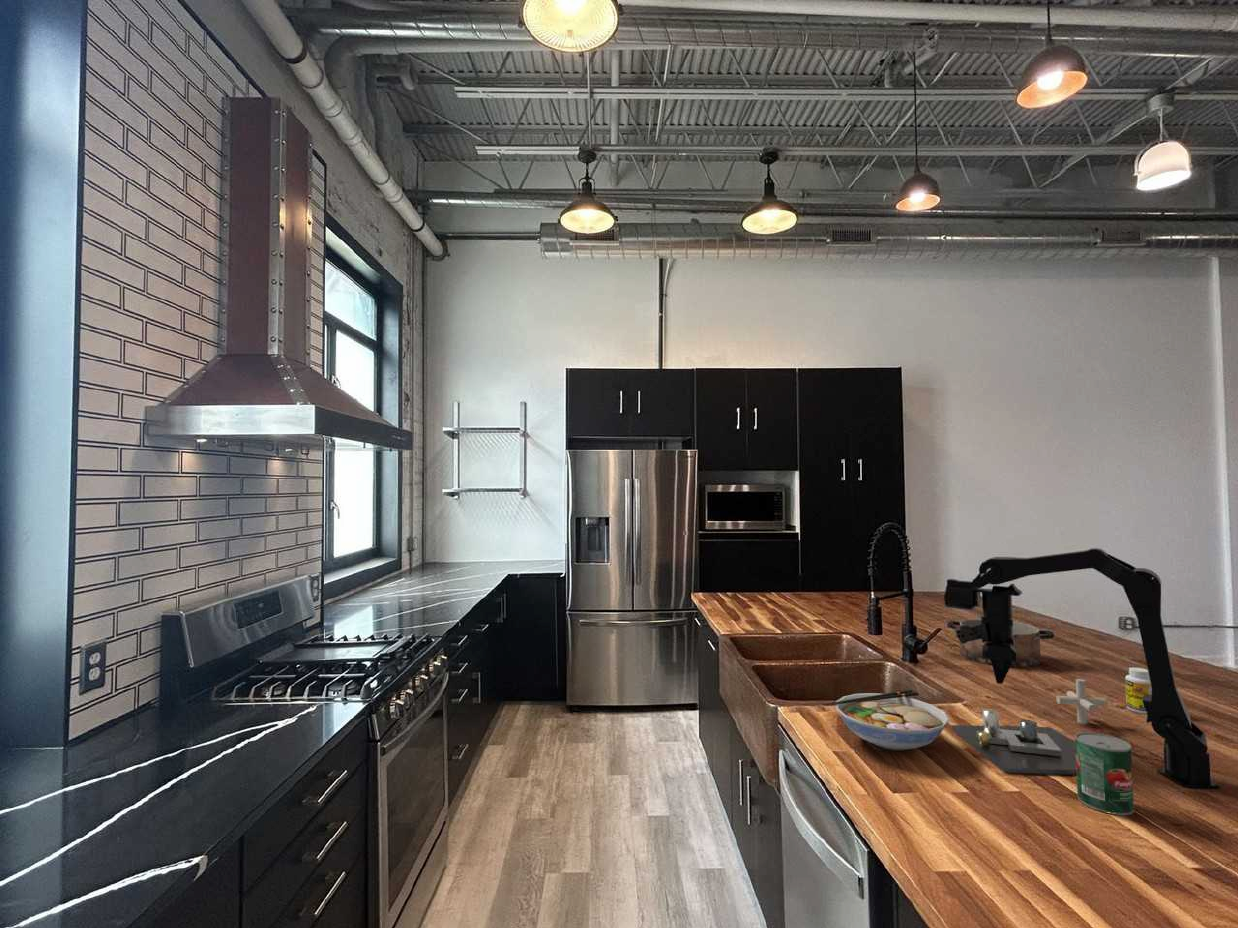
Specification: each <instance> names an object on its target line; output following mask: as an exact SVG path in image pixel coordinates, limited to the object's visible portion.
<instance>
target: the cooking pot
mask: <svg viewBox="0 0 1238 928" xmlns="http://www.w3.org/2000/svg"><path fill="white" fill-rule="evenodd" d="M976 622H981V618H971V619H965V620H961V621H960V622H959V621H955V620H949V621H948V622H947V624H946V627H947V628H948V629H949V628H950V629H953V630H955V627H958V626H961V625H966V624H971V623H976ZM1054 638H1055V633H1054V632H1053V631H1051V630H1040V629H1039V628H1038V627H1035V626H1034V625H1031V624H1026V623H1021V622H1017V621H1013V643H1014V645H1013V646H1012V647H1014V648H1015V649H1016V660H1017V662H1012V664H1011V666H1010V668H1012V669H1030V668H1029V667H1031V668H1035V666H1036V667H1038V666H1039V665H1040V664H1041V640H1047V639H1054ZM985 643H986V642H985ZM985 643H983V642H982V638H981V639H978V640H973V641H969V642H967V643H964V644H960V643H959V645H960V654H961V656H962V657H963V658H964V659H966V658H967V659H966V660H969V661H972V662H974V663H979V664H983V665H987V666H992V663H991V660H990V659H985V658H983V655H982V646H983V645H984V644H985ZM1010 668H1009V669H1010Z"/></svg>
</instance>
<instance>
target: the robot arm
mask: <svg viewBox="0 0 1238 928" xmlns="http://www.w3.org/2000/svg"><path fill="white" fill-rule="evenodd" d="M1088 569H1093V570H1095V571H1096V572H1099V573H1100V574H1102V575H1104V576H1105V577H1106V578H1108V579H1110V580H1111V581H1112V582H1114V583H1116V584H1118V585H1120V586H1121V587H1122V588H1123V590H1124V593H1125V595H1126V598H1127V599H1128V602H1129V604H1130V606H1131V608H1132V610H1133V612H1134V614H1135V616H1136V619H1137V624H1138V628H1139V633H1140V634H1139V635H1140V638H1141V643H1142V647H1143V648H1142V649H1143V653H1144V657H1145V662H1146V668H1147V670H1148V672H1149V677H1150V682H1151V687H1152V695H1150V694H1145V693H1144V694H1143V704H1144V707H1145V709H1146V711H1147V714H1146V719H1145V720H1146V721H1145V722H1146V723H1147V724H1149V723H1150V725H1151V727H1152V730H1153V731H1154V732H1155V733H1156V734H1157V735H1159V736H1160V737H1161V738H1163V739H1164V741H1163V744H1164V746H1163V763H1164V765H1163V767H1164V768H1156V772H1157V773H1159V774H1160V775H1162V776H1164V777H1166V778H1168V779H1170V780H1171V781H1173V782H1175V783H1176V784H1178V785H1181V786H1182V787H1184V788H1204V789H1207V788H1210V789H1211V788H1212V789H1213V788H1214V789H1220V788H1221V786H1220V784H1219V783H1217V782H1215V781H1213V780H1211V777H1212V776H1211V760H1210V759H1211V758H1210V753H1208V752H1207V751H1208V748H1209V747H1208V742H1207V734H1206V733H1205V732H1204V731H1203V730H1202V729H1200V728H1199V727H1198V726H1197V725H1196V724H1195V723H1193V721H1192V720H1191V716H1190V713H1189V712H1188V709H1187V706H1186V704H1185V702H1184V700H1183V697H1182V696H1181V694H1180V691H1179V689H1178V688H1177V685H1176V680H1175V676H1174V671H1173V667H1172V662H1171V658H1170V651H1169V647H1168V644H1167V638H1166V634H1165V630H1164V625H1163V619H1162V615H1161V614H1162V580H1161V578H1160V576H1159V575H1158V574H1157V573H1155V572H1154V571H1153V570H1151V569H1148V568H1146V567H1144V568H1143V567H1135V566H1134V565H1132V564H1129V563H1127V562H1126V561H1123V560H1122V559H1119V558H1117V557H1115V556H1113V555H1111V554H1109V553H1107V552H1106V551H1105V550H1103V549H1102V548H1099V547H1098V548H1097V547H1095V548H1094V547H1092V548H1089V549H1087V550H1079V551H1078V550H1077V551H1072V552H1071V551H1070V552H1064V553H1057V554H1047V555H1040V556H1032V557H1015V556H1014V557H1013V556H994V557H991V558H988V559H985V560H984V561H982V562H981V564H980V565H979V568H978V572H979V573H978V574H977V575H976V577H975V578H973V579H972V581H971V580H969V581H967V580H958V579H956V578H955V579H954V578H949V579H947V580H946V586H945V590H944V591H945V592H944V596H943V597H944V598H943V599H944V601H943V602H944V606H945V607H946V608H947V609H955V610H965V611H973V612H974V611H975V610H976V608H980V607H981V605H982V607H981V608H982V615H981V616H980V617H981V618H980V619H981V622H976V623H971V624H966V625H961V626H958V625H957V626H958V627H955V629H954V632H955V635H956V637H957V639H958V642H959V645H960V644H964V643H967V642H969V641H973V640H978V639H981V638H982V642H983V643H985V642H986V643H985V644H984V645H983V646H982V655H983V658H985V659H990V660H991V663H992V665H991V666H992V670H993V673H994V677H995V681H996V683H997V684H1000V685H1002V684H1003V683H1004V681H1005V679H1006V677H1007V675H1008V673H1009V671H1010V666H1011V664H1012V662H1017V660H1016V649H1015V648H1014V647H1012V646H1013V645H1014V643H1013V622H1014V619H1013V601H1012V600H1013V599H1012V598H1013V597H1012V596H1014V597H1019V596H1020V595H1022V594H1023V591H1022V590H1021V589H1019V588H1018V587H1017V586H1016V585H1015V583H1011V584H1009V585H1008V586H1003V585H1002V584H1005V583H1009V582H1013V581H1015V580H1016V581H1017V580H1018V579H1022V578H1025V577H1029V576H1035V575H1036V576H1037V575H1045V574H1054V573H1062V572H1068V571H1069V572H1071V571H1080V570H1088ZM1000 584H1001V585H1000ZM986 585H987V586H988V585H992V588H984V587H985V586H986Z"/></svg>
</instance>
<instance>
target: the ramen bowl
mask: <svg viewBox="0 0 1238 928" xmlns="http://www.w3.org/2000/svg"><path fill="white" fill-rule="evenodd" d="M916 696H919V692H917V691H914V690H913V689H907V690H906V689H904V690H899V691H894V692H888V693H877V692H876V693H875V692H868V693H866V692H865V693H853V694H848V695H845V696H842V697H841V698H839V699H837V700H836V701H832V702H827V703H823V704H822V705H823V706H833V705H835V708H836V710H837V712H838V714H839V716H840V718H841V719H842V721H843V723H844V724H845V725H846V726H847V727H848V729H850V730H851V731H852V733H854V735H855V734H856V736H858V737H859V738H861V739H862V740H864V741H866V742H868V743H871V744H874V745H875V746H877V747H879V748H881V749H885V750H889V751H894V752H895V751H896V752H898V751H900V752H901V751H906V750H913V749H914V750H915V749H918V748H921V747H925V746H927V745H930V744H932V743H933V742H934V741H935V740H936V739H937V737H939V735H941V733H942V732H943V731H944V729H945V728H946V727H947V725H948V723H949V721H950V718H949V716H948V715H947V713H946V712H945V711H943V710H942V709H940V708H939V707H937V706H935V705H933V704H931V703H928V702H924V701H922V700H919V699H915V698H912V697H916Z"/></svg>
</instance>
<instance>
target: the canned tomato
mask: <svg viewBox="0 0 1238 928" xmlns="http://www.w3.org/2000/svg"><path fill="white" fill-rule="evenodd" d="M1074 738H1075V740H1074V742H1075V747H1076V770H1077V775H1076V791H1077V792H1076V793H1077V795H1076V797H1078V798H1077V799H1079V800H1080V801H1081V802H1083V803H1084V804H1085V805H1084V804H1083V803H1082V804H1083V805H1084V806H1086V805H1087V806H1086V807H1088V806H1089V807H1088V808H1090V807H1091V808H1090V809H1092V808H1093V810H1095V809H1097V810H1100V811H1104V812H1110V813H1113V814H1114V813H1115V814H1120V815H1119V816H1130V815H1132V814H1134V812H1135V807H1134V786H1133V765H1132V764H1133V760H1132V759H1133V757H1132V745H1131V744H1130V743H1129V742H1127V741H1125V740H1123V739H1121V738H1119V737H1115V736H1113V735H1110V734H1109V735H1108V734H1104V733H1097V732H1091V731H1090V732H1088V731H1086V732H1077V733H1076V734H1074ZM1079 800H1078V801H1079ZM1080 801H1079V802H1080ZM1081 802H1080V803H1081ZM1097 810H1096V811H1097ZM1100 811H1099V812H1100ZM1104 812H1103V813H1104ZM1113 814H1112V815H1113Z"/></svg>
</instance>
